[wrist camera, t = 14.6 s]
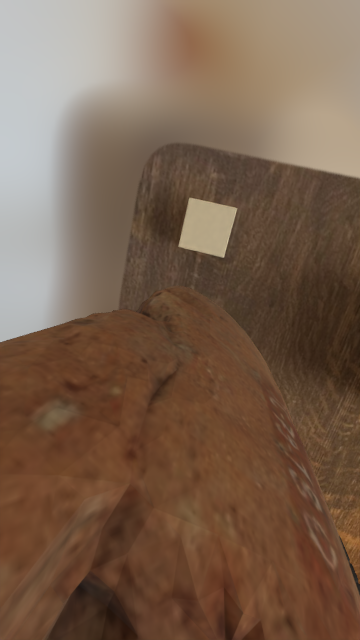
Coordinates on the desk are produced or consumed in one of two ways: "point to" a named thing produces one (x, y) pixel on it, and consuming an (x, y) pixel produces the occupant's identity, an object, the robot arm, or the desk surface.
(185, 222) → the cream block
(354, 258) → the desk surface
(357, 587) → the robot arm
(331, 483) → the desk surface
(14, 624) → the block
